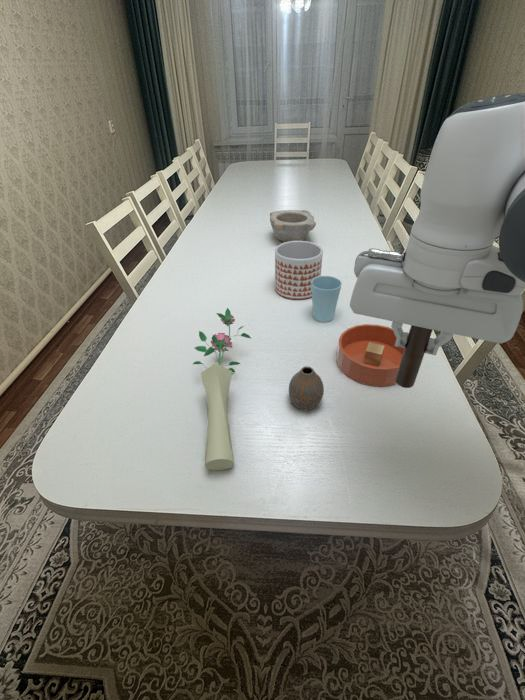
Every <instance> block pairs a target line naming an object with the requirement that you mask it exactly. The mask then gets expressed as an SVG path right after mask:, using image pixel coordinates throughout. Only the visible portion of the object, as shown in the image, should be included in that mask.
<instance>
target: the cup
mask: <svg viewBox="0 0 525 700" xmlns="http://www.w3.org/2000/svg"><path fill="white" fill-rule="evenodd" d="M342 283H343V282H342V281H341V279H339V278H338V277H335V276H330V275H321V276H319V277H316V278H314V279H313V280H312V281H311V287H312V297H311V301H312V303H311V304H312V317H313V318H314V320H315V321H316V322H320V323H328V322H331V321H333V320H334V317H335V314H336V309H337V306H338V305H337V304H338V301H339V297H340V292H341V289H342Z"/></svg>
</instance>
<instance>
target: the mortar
mask: <svg viewBox="0 0 525 700" xmlns="http://www.w3.org/2000/svg"><path fill="white" fill-rule="evenodd" d="M269 222H270V226H271V229H272V231H273V233H274V235H275V237H276V238H277V240H278V241H280V242H282V243H285V242H289V241H305V239H306V237H307V236H308V234H309V233H310V232H312V231H313V230H314V229H315V227H316V225H317V222H316V221H315V216H313V214H312V213H311V212H310V211H309V210H306V209H301V210H298V209H284V210H274V211H271V212H270V213H269Z"/></svg>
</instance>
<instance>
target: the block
mask: <svg viewBox="0 0 525 700" xmlns="http://www.w3.org/2000/svg"><path fill="white" fill-rule="evenodd" d="M383 351H384V345H380V344H375V343H371V342H369V343H368V346H367V349H366V352H365V357H364V363H367V364H371V365H375V366H379V365H380V362H381V359H382V355H383Z"/></svg>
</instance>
